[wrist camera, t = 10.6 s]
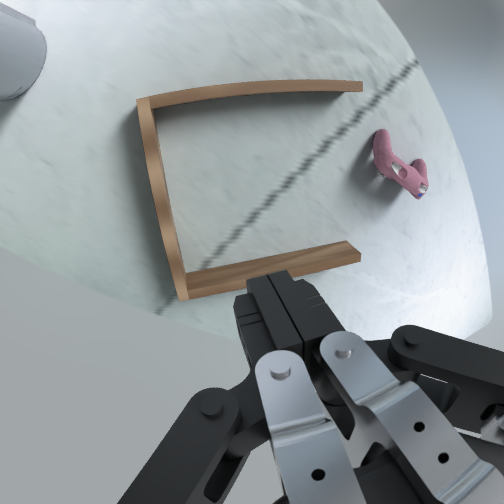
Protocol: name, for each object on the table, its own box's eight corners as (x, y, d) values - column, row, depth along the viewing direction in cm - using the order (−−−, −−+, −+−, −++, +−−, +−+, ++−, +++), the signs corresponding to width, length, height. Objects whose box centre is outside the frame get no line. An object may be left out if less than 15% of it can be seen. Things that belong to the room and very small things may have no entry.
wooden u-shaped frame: (141, 100, 27) (136, 99, 24) (344, 82, 31) (362, 81, 27) (178, 283, 38) (179, 301, 34) (345, 248, 41) (360, 261, 38)
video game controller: (358, 147, 37) (375, 179, 32) (379, 123, 33) (400, 152, 29) (403, 178, 40) (421, 211, 36) (423, 158, 37) (444, 189, 33)
